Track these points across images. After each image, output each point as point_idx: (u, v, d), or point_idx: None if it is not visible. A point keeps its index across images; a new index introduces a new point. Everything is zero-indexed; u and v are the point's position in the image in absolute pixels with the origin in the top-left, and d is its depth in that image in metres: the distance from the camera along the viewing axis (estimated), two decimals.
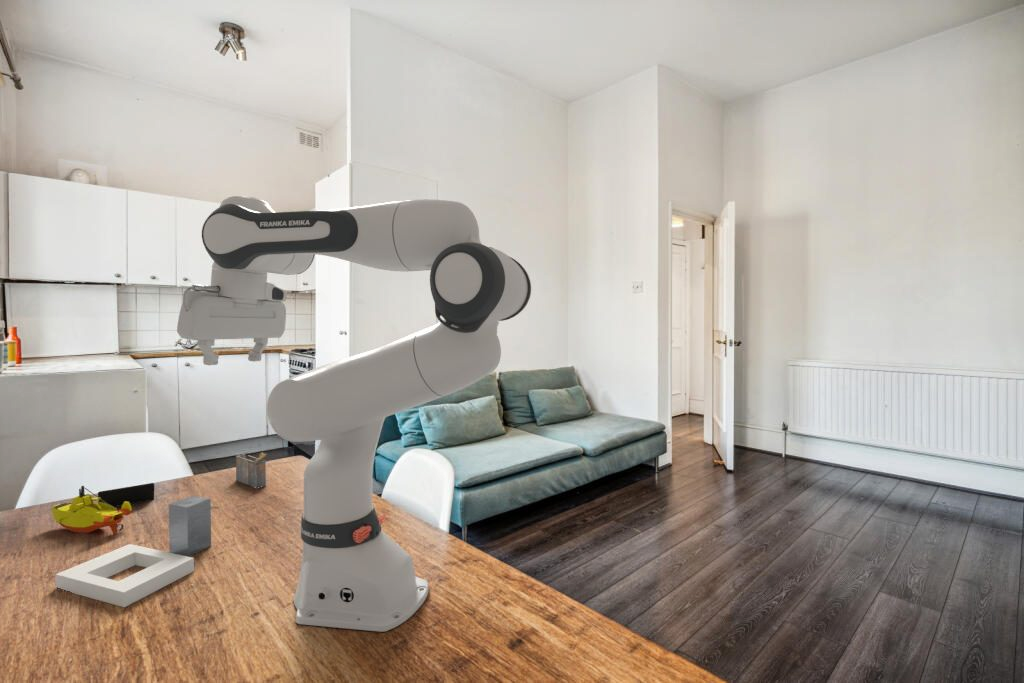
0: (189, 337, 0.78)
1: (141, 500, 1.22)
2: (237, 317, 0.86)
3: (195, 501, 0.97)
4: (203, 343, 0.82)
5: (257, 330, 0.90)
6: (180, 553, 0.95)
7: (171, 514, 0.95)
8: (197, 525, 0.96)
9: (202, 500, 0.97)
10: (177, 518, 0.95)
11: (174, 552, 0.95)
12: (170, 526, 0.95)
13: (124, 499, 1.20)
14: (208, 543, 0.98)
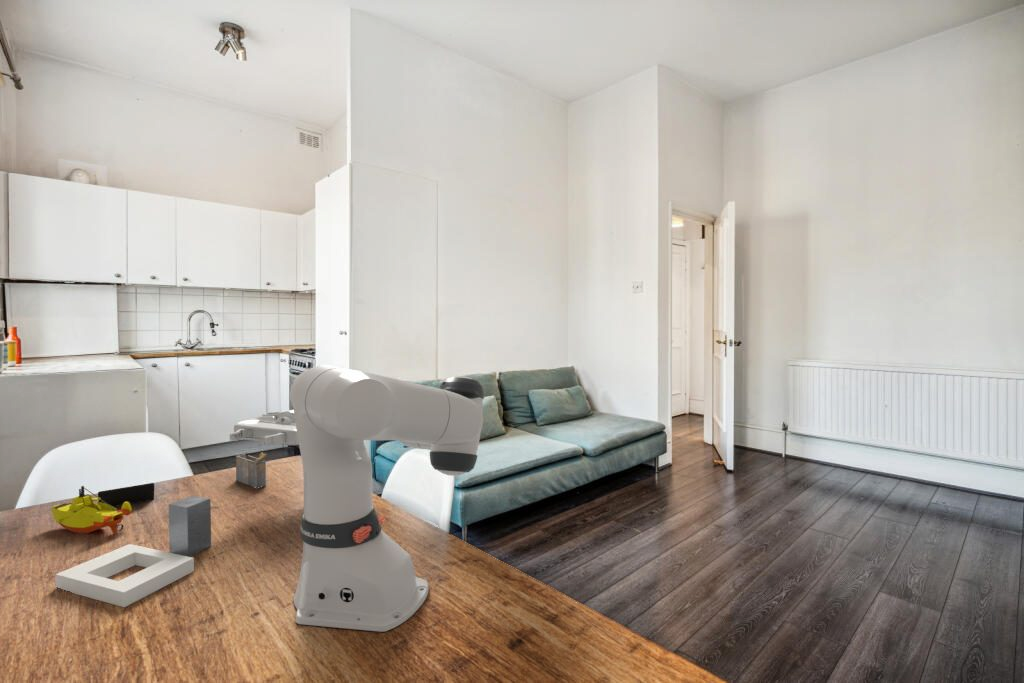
0: (297, 441, 1.12)
1: (141, 500, 1.22)
2: None
3: (195, 501, 0.97)
4: (283, 439, 1.12)
5: None
6: (180, 553, 0.95)
7: (171, 514, 0.95)
8: (197, 525, 0.96)
9: (202, 500, 0.97)
10: (177, 518, 0.95)
11: (174, 552, 0.95)
12: (170, 526, 0.95)
13: (124, 499, 1.20)
14: (208, 543, 0.98)
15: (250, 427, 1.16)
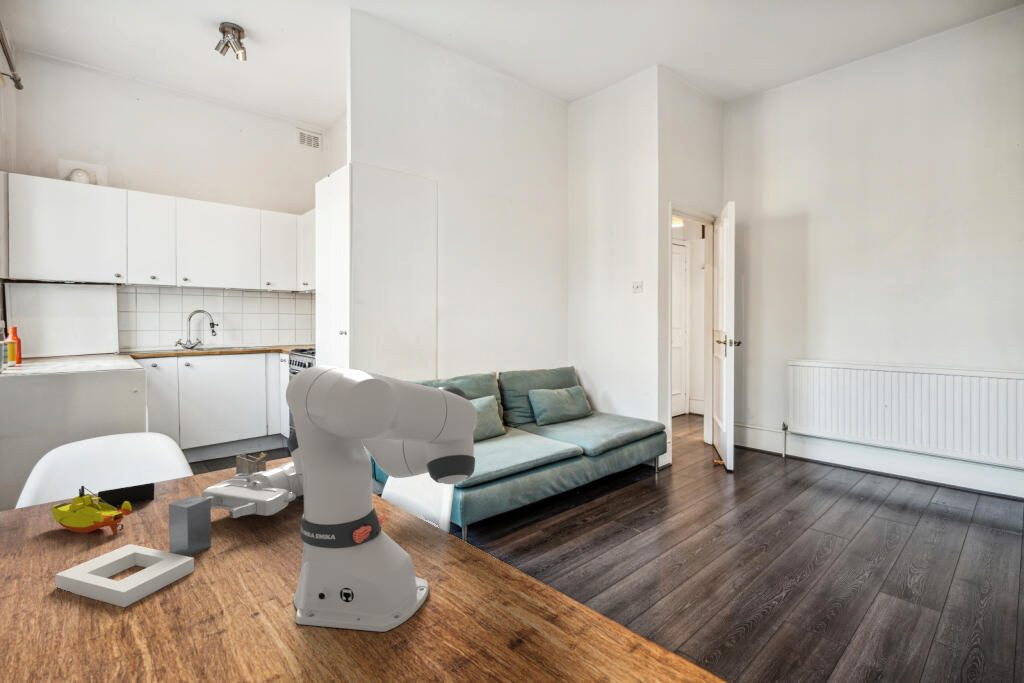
0: (269, 512, 1.05)
1: (141, 500, 1.22)
2: None
3: (195, 501, 0.97)
4: (253, 509, 1.04)
5: None
6: (180, 553, 0.95)
7: (171, 514, 0.95)
8: (197, 525, 0.96)
9: (202, 500, 0.97)
10: (177, 518, 0.95)
11: (174, 552, 0.95)
12: (170, 526, 0.95)
13: (124, 499, 1.20)
14: (208, 543, 0.98)
15: (219, 494, 1.08)
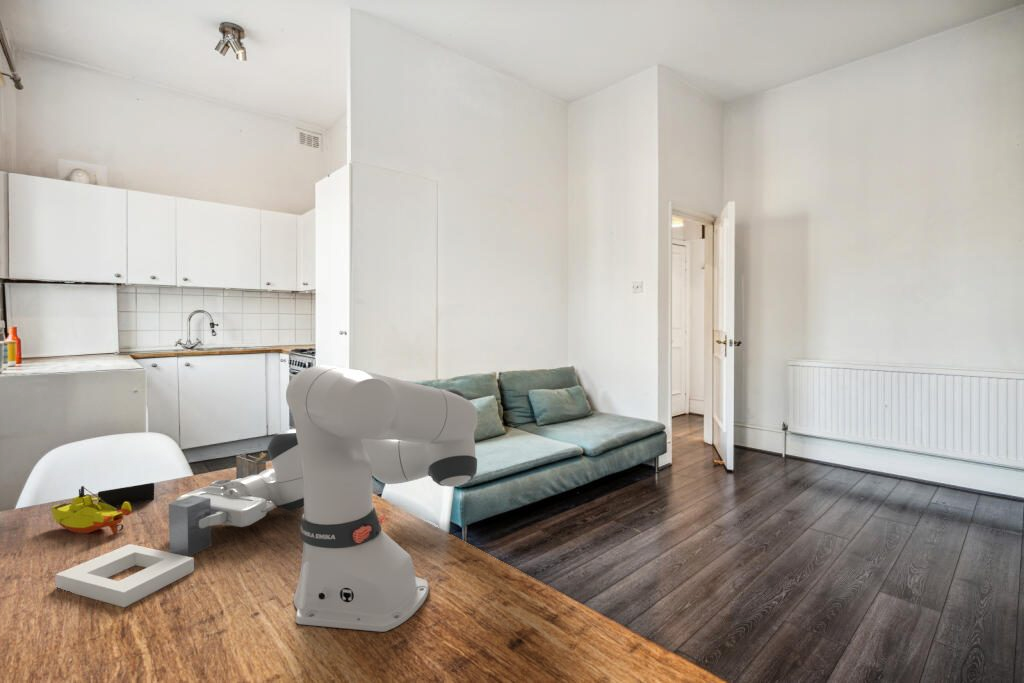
0: (244, 523, 0.98)
1: (141, 500, 1.22)
2: None
3: (195, 501, 0.97)
4: (222, 519, 0.98)
5: None
6: (180, 553, 0.95)
7: (171, 514, 0.95)
8: None
9: (202, 500, 0.97)
10: (177, 517, 0.95)
11: (174, 552, 0.95)
12: (170, 526, 0.95)
13: (124, 499, 1.20)
14: (208, 543, 0.98)
15: None
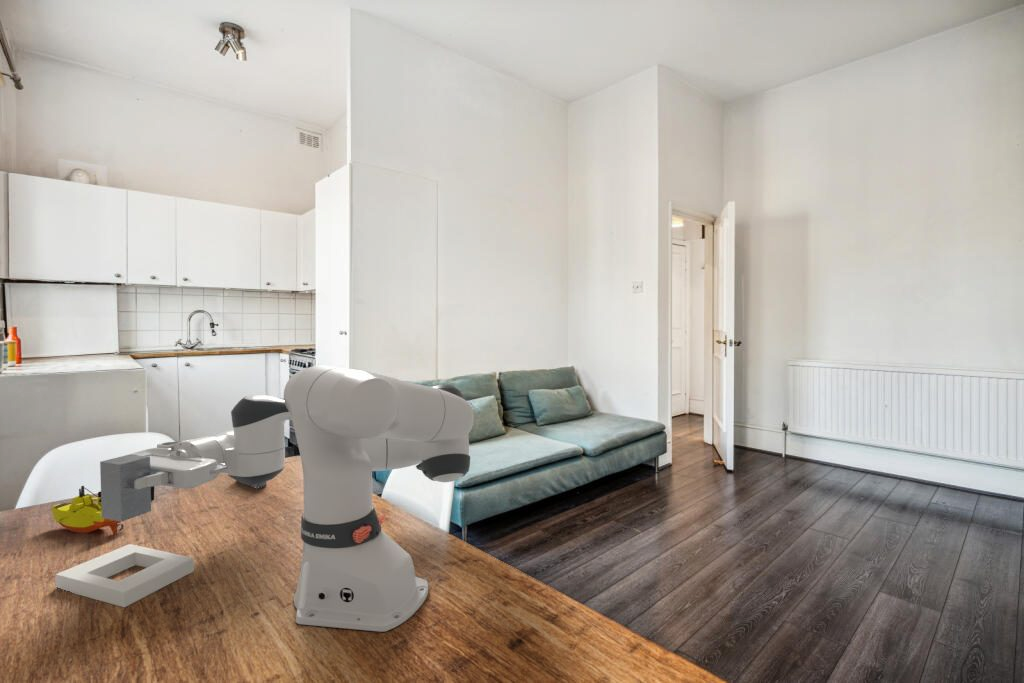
0: (188, 484, 0.86)
1: None
2: None
3: (131, 459, 0.85)
4: (163, 480, 0.87)
5: None
6: (113, 517, 0.83)
7: (102, 473, 0.83)
8: None
9: (140, 458, 0.86)
10: (110, 477, 0.83)
11: (106, 516, 0.84)
12: (102, 487, 0.84)
13: None
14: (147, 507, 0.86)
15: None
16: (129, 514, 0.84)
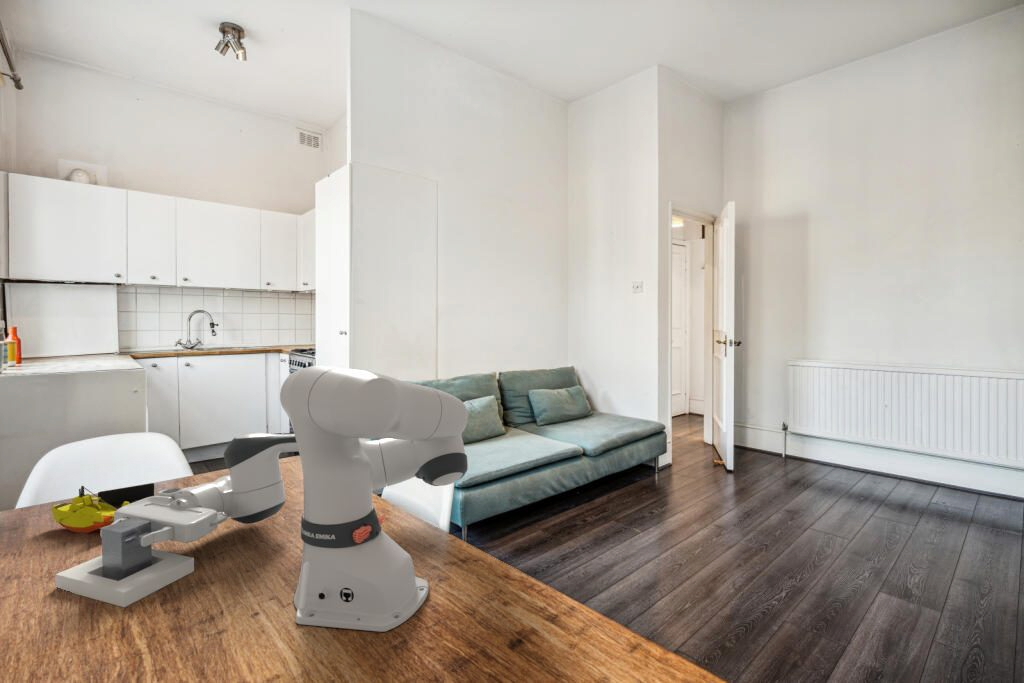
0: (188, 539, 0.87)
1: None
2: None
3: (132, 524, 0.86)
4: (169, 535, 0.86)
5: None
6: None
7: (104, 540, 0.84)
8: (133, 552, 0.84)
9: (141, 523, 0.86)
10: (111, 544, 0.83)
11: None
12: (103, 554, 0.84)
13: (124, 499, 1.20)
14: None
15: (132, 516, 0.90)
16: None
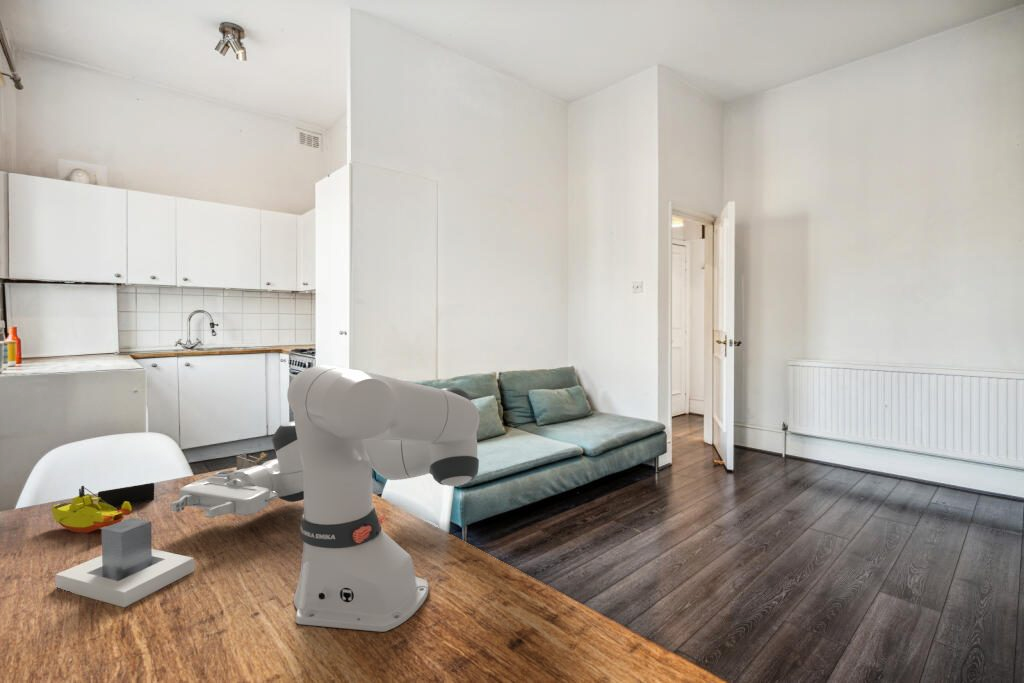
0: (248, 512, 0.99)
1: (141, 500, 1.22)
2: None
3: (132, 524, 0.86)
4: (231, 509, 0.99)
5: None
6: None
7: (104, 540, 0.84)
8: (133, 552, 0.84)
9: (141, 523, 0.86)
10: (111, 544, 0.83)
11: None
12: (103, 554, 0.84)
13: (124, 499, 1.20)
14: None
15: (196, 493, 1.03)
16: None
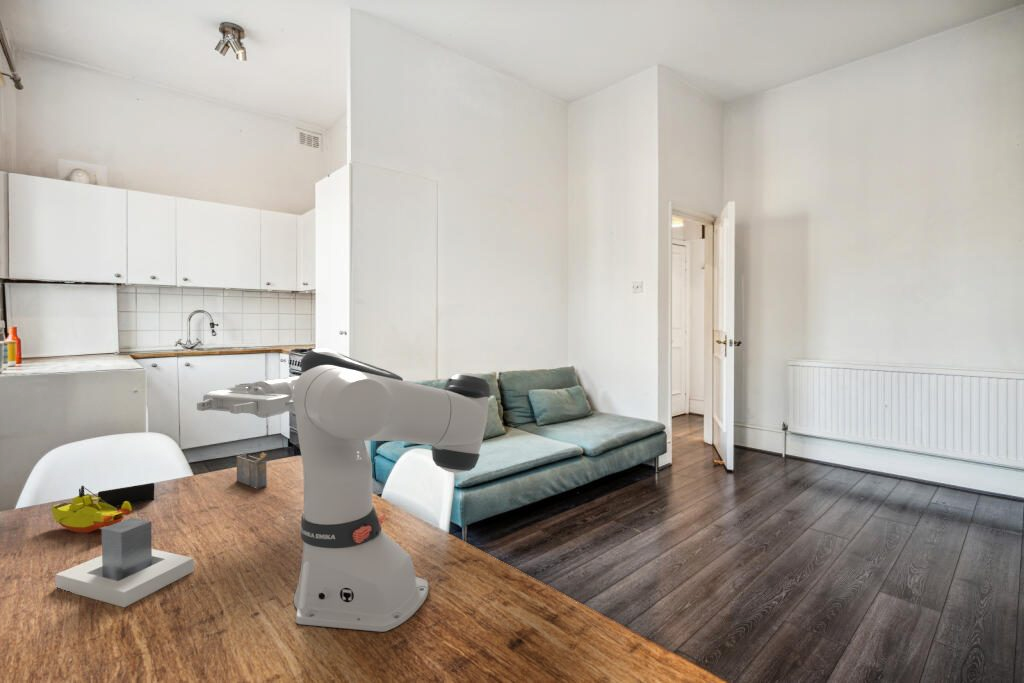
0: (270, 411, 1.04)
1: (141, 500, 1.22)
2: None
3: (132, 524, 0.86)
4: (254, 408, 1.04)
5: None
6: None
7: (104, 540, 0.84)
8: (133, 552, 0.84)
9: (141, 523, 0.86)
10: (111, 544, 0.83)
11: None
12: (103, 554, 0.84)
13: (124, 499, 1.20)
14: None
15: (220, 397, 1.08)
16: None
